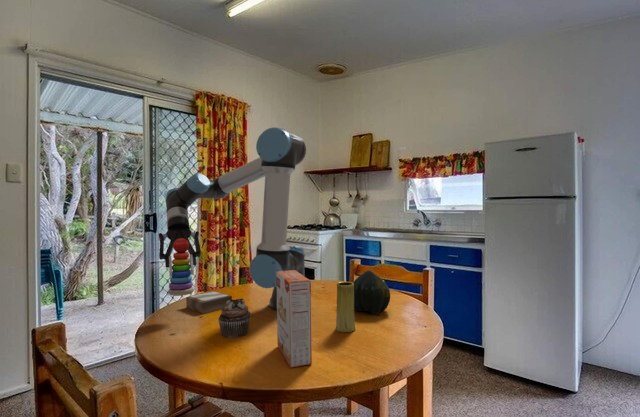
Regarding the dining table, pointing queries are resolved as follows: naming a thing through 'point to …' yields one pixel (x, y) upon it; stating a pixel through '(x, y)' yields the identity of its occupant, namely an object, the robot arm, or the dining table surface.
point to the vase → (345, 307)
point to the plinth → (207, 302)
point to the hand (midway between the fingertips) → (181, 273)
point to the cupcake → (234, 319)
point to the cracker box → (294, 317)
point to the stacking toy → (181, 270)
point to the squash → (370, 293)
